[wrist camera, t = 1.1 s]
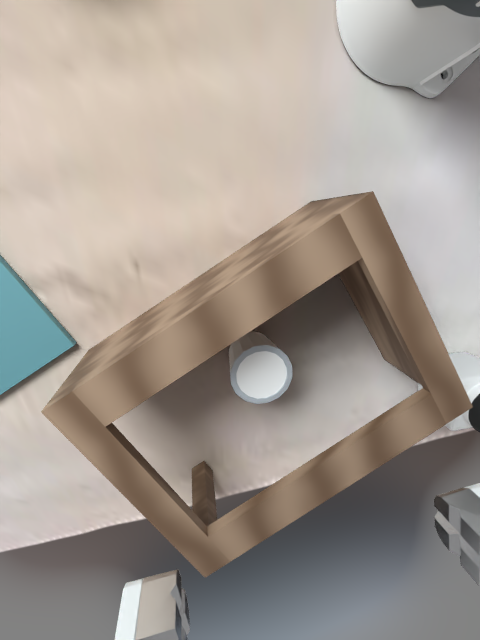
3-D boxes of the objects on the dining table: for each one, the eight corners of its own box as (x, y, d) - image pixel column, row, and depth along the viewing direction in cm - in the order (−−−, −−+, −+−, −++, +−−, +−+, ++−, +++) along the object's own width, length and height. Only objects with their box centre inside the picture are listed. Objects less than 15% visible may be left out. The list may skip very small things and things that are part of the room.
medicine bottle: (415, 403, 50) (483, 458, 38) (417, 357, 48) (490, 400, 36) (461, 396, 51) (541, 447, 39) (465, 350, 49) (551, 389, 37)
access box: (311, 201, 40) (373, 191, 27) (391, 354, 47) (473, 407, 34) (88, 350, 41) (41, 412, 28) (200, 478, 48) (205, 577, 35)
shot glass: (244, 387, 45) (254, 416, 38) (212, 348, 43) (216, 371, 36) (287, 355, 45) (305, 379, 38) (256, 315, 43) (269, 332, 36)
